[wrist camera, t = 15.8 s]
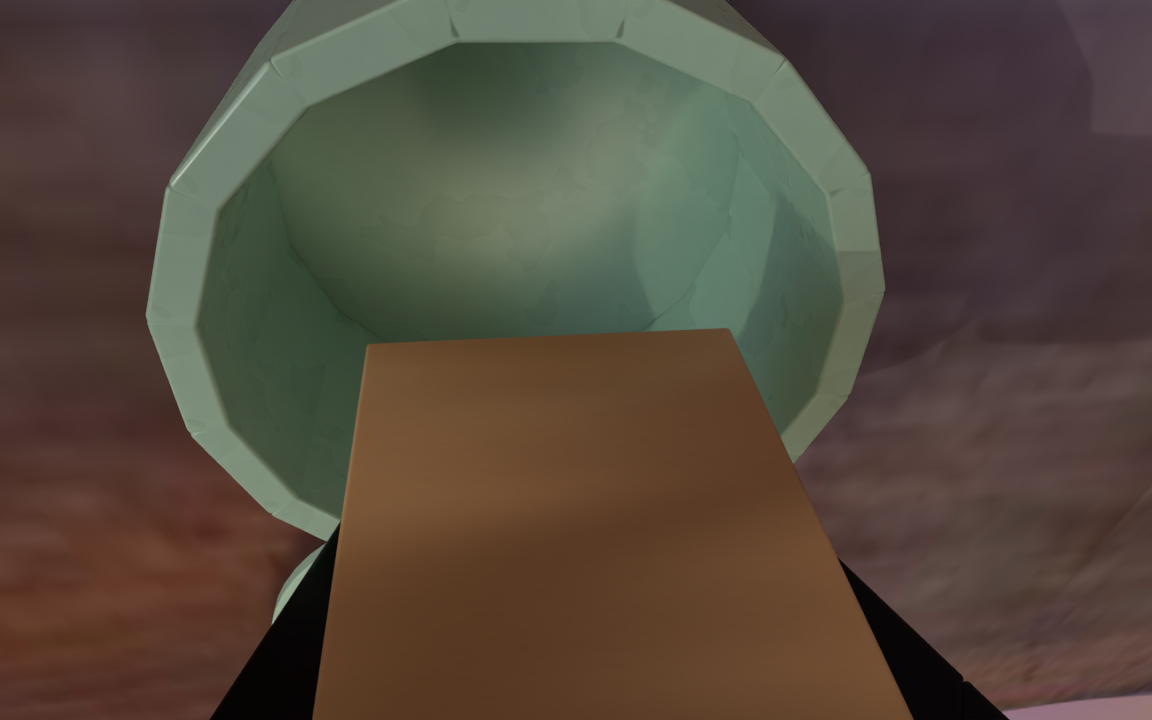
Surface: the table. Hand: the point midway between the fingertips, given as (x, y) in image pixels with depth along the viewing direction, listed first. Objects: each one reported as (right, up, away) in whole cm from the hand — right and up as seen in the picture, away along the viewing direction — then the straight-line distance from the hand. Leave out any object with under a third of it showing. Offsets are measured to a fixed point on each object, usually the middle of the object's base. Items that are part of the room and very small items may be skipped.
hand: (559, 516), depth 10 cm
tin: (-1, +6, +7) cm, 10 cm away
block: (0, +1, +1) cm, 1 cm away
